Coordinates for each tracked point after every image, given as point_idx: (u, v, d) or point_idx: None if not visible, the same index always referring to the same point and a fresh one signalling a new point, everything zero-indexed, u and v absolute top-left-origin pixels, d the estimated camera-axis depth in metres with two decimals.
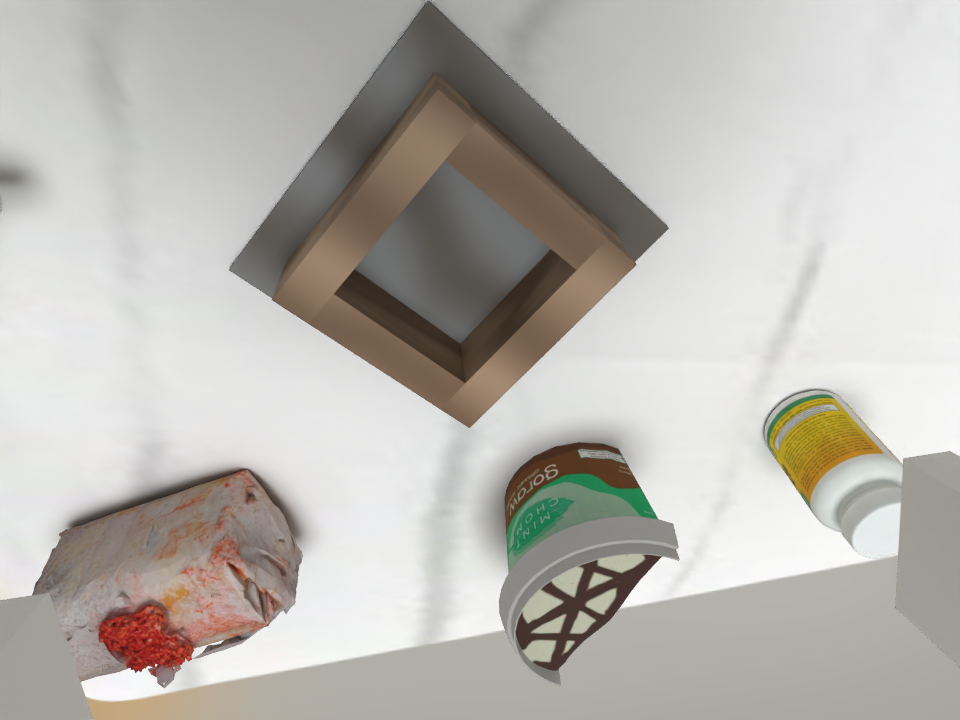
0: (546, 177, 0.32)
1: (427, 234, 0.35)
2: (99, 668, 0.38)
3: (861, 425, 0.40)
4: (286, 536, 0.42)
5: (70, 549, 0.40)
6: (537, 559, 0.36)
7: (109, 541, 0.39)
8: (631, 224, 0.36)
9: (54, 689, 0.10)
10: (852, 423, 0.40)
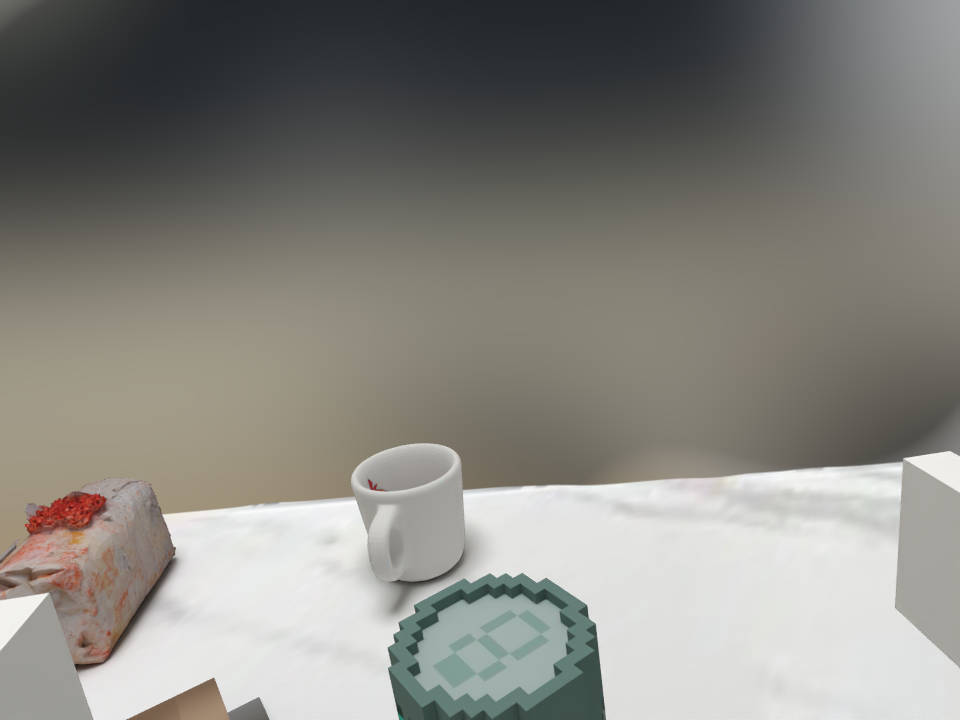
0: None
1: None
2: None
3: None
4: None
5: (162, 535, 0.55)
6: None
7: (146, 549, 0.52)
8: None
9: (54, 689, 0.10)
10: None
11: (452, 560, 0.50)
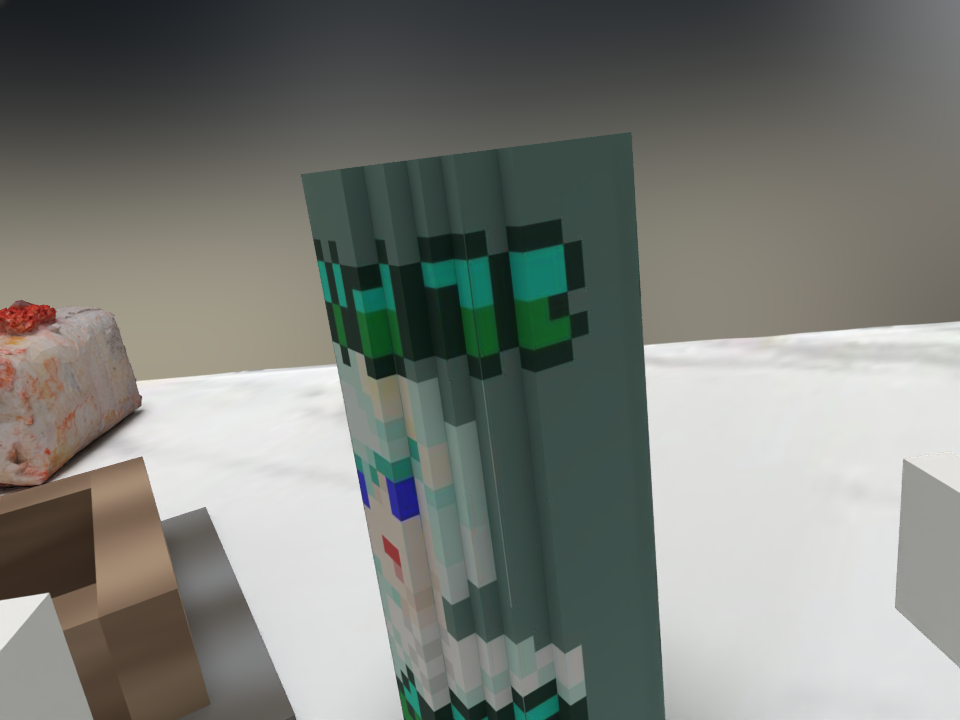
0: None
1: None
2: None
3: None
4: None
5: (124, 372, 0.48)
6: None
7: (103, 379, 0.45)
8: None
9: (54, 689, 0.10)
10: None
11: None
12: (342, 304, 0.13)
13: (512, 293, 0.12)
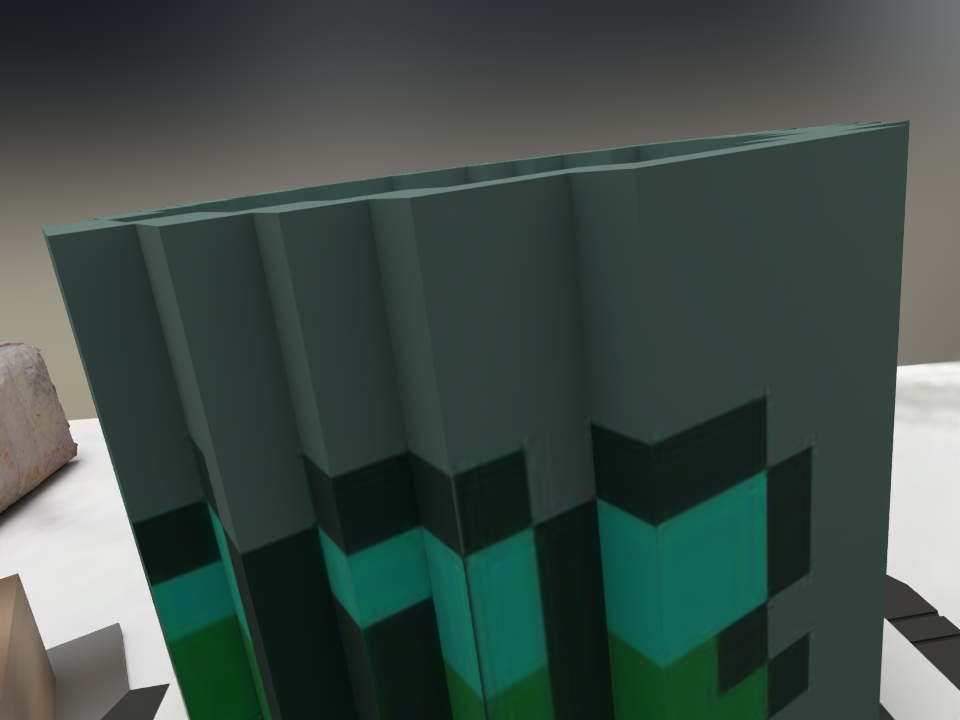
0: None
1: None
2: None
3: None
4: None
5: (52, 419, 0.40)
6: None
7: (22, 430, 0.37)
8: None
9: None
10: None
11: None
12: (142, 563, 0.05)
13: (605, 614, 0.04)
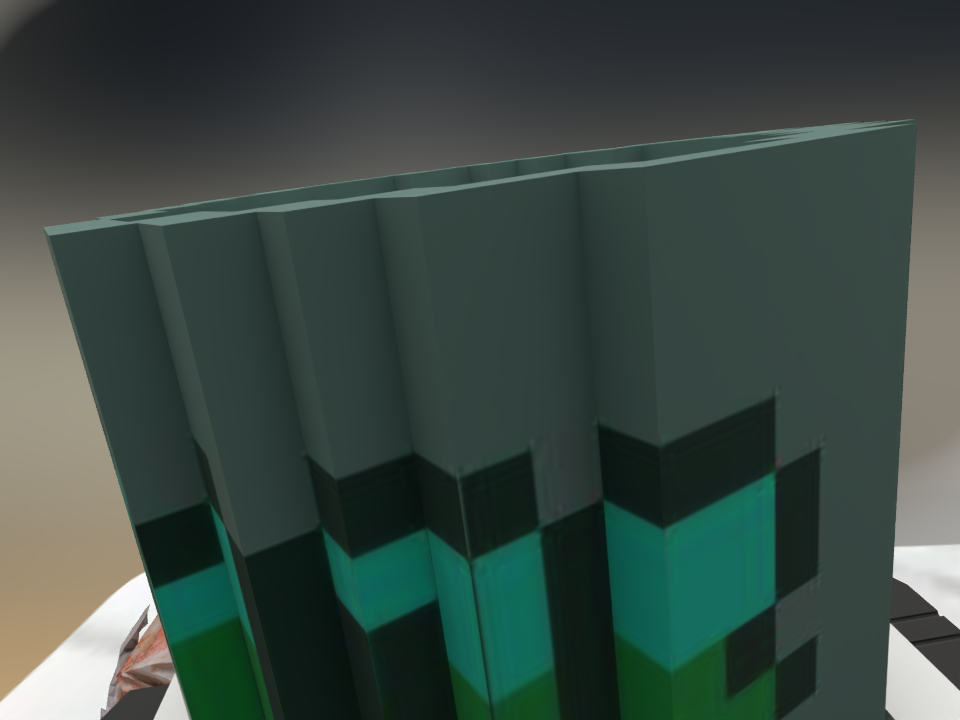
0: None
1: None
2: None
3: None
4: None
5: None
6: None
7: None
8: None
9: None
10: None
11: None
12: (144, 565, 0.05)
13: (612, 616, 0.04)
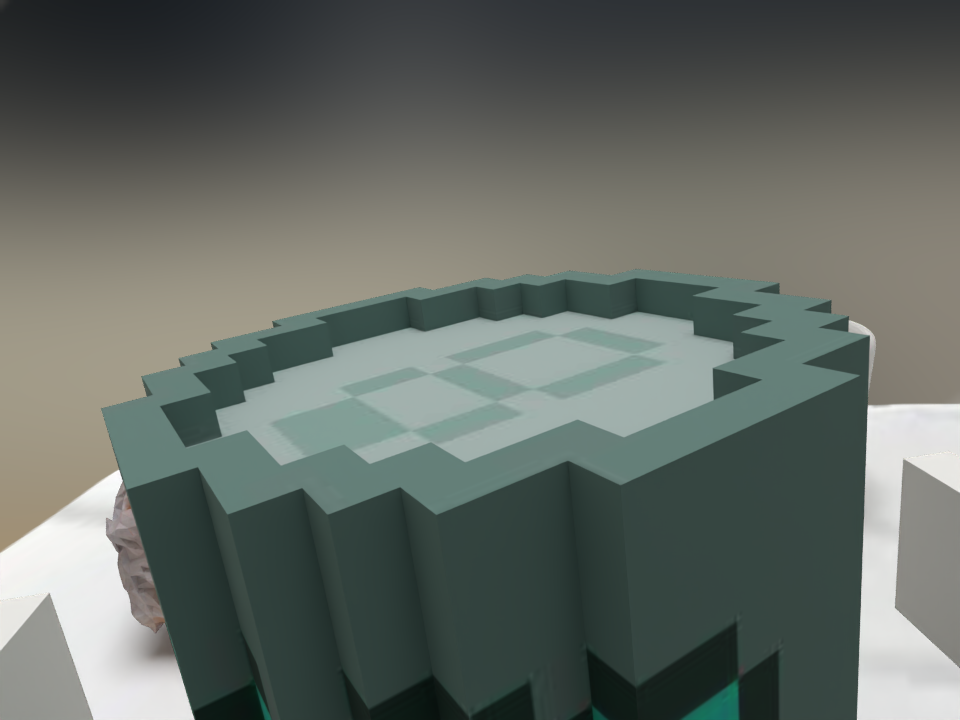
0: None
1: None
2: None
3: None
4: None
5: None
6: None
7: None
8: None
9: (54, 689, 0.10)
10: None
11: None
12: None
13: None
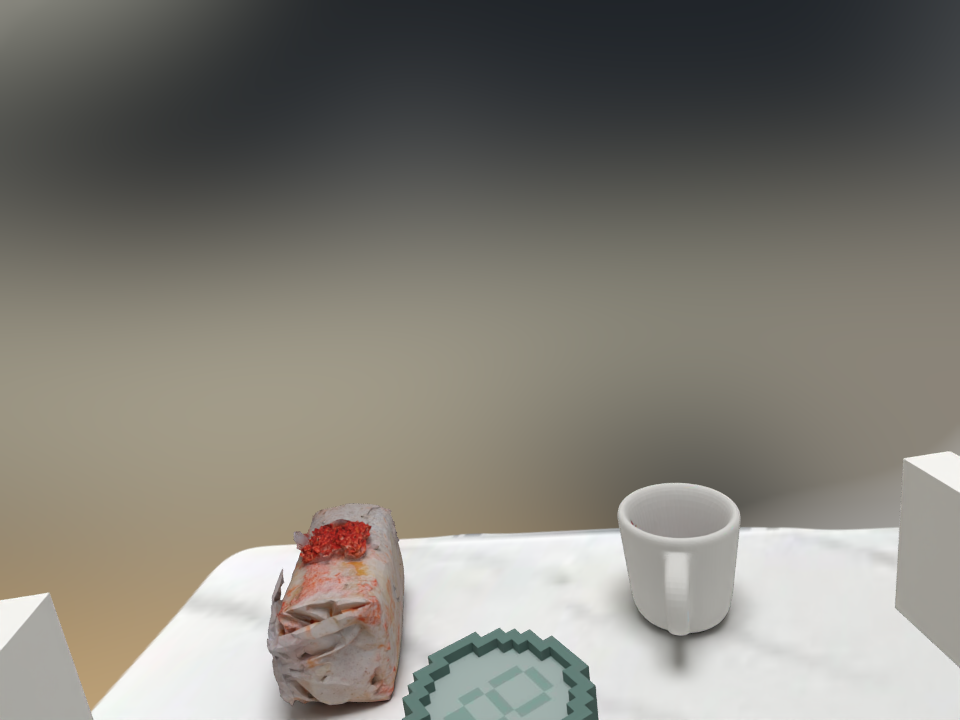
0: None
1: None
2: (324, 521, 0.51)
3: None
4: (320, 687, 0.42)
5: (401, 563, 0.53)
6: None
7: (399, 579, 0.50)
8: None
9: (54, 689, 0.10)
10: None
11: (726, 611, 0.47)
12: None
13: None
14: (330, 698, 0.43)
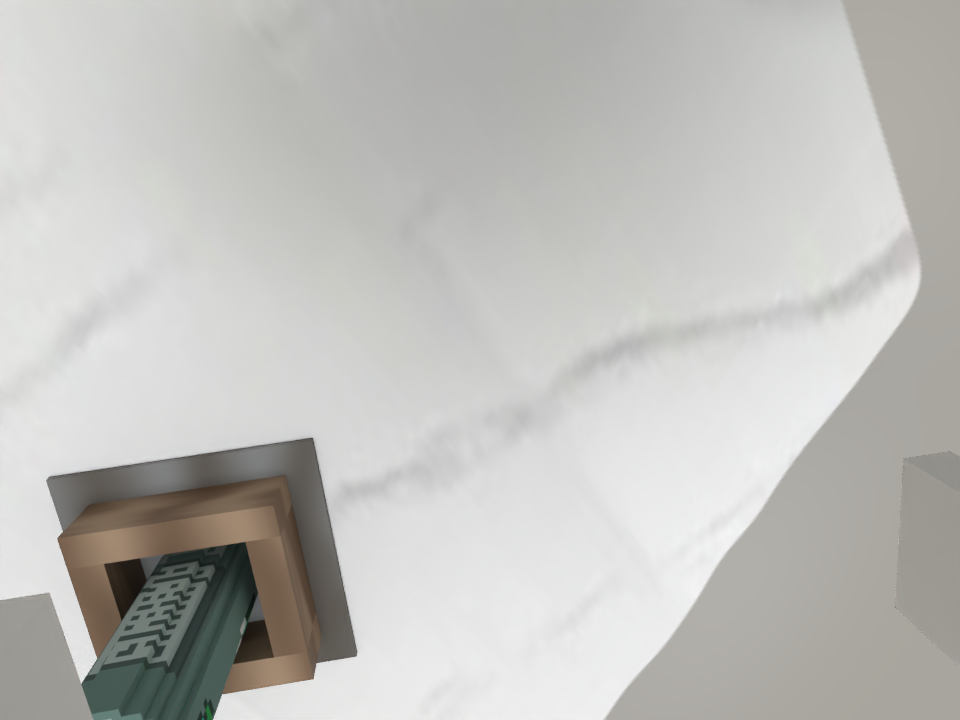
0: (301, 582, 0.43)
1: None
2: None
3: None
4: None
5: None
6: None
7: None
8: (335, 638, 0.47)
9: (54, 689, 0.10)
10: None
11: None
12: None
13: None
14: None
